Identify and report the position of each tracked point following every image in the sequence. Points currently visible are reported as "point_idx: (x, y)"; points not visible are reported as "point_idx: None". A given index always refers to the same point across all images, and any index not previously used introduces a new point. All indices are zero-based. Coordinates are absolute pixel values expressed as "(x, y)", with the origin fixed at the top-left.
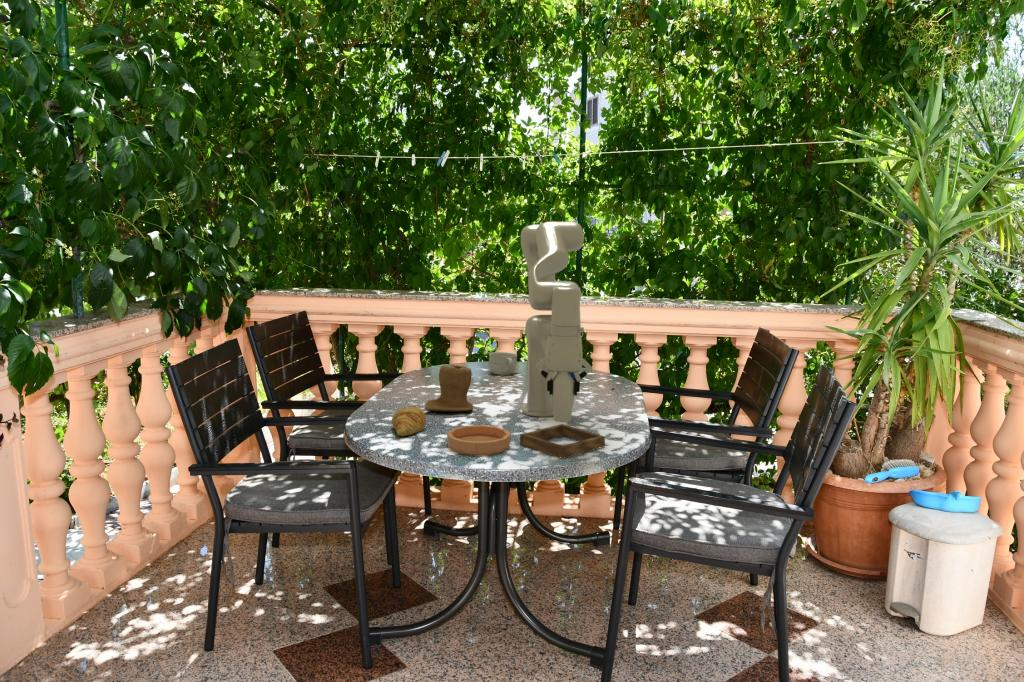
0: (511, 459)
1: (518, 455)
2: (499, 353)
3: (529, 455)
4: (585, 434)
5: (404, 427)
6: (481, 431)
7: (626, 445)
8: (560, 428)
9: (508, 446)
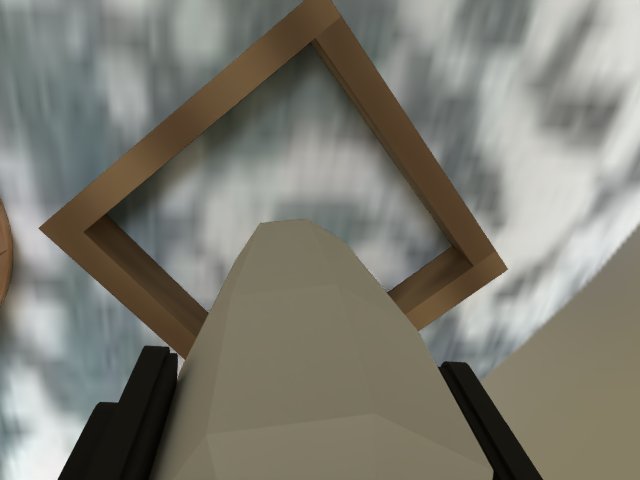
0: (50, 411)
1: (76, 364)
2: None
3: (127, 363)
4: (424, 197)
5: None
6: None
7: (586, 227)
8: (301, 49)
9: (6, 276)
